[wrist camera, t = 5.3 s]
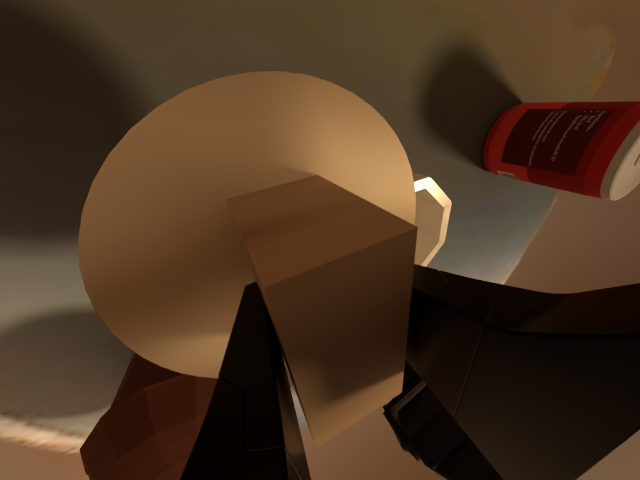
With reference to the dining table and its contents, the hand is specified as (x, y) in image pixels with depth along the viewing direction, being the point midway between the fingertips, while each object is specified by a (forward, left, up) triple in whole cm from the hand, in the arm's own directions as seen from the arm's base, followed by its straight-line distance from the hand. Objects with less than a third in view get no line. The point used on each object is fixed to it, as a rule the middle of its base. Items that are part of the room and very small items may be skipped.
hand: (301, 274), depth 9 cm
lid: (0, 0, -2) cm, 2 cm away
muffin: (-13, +9, -12) cm, 20 cm away
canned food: (-2, -30, -12) cm, 32 cm away
